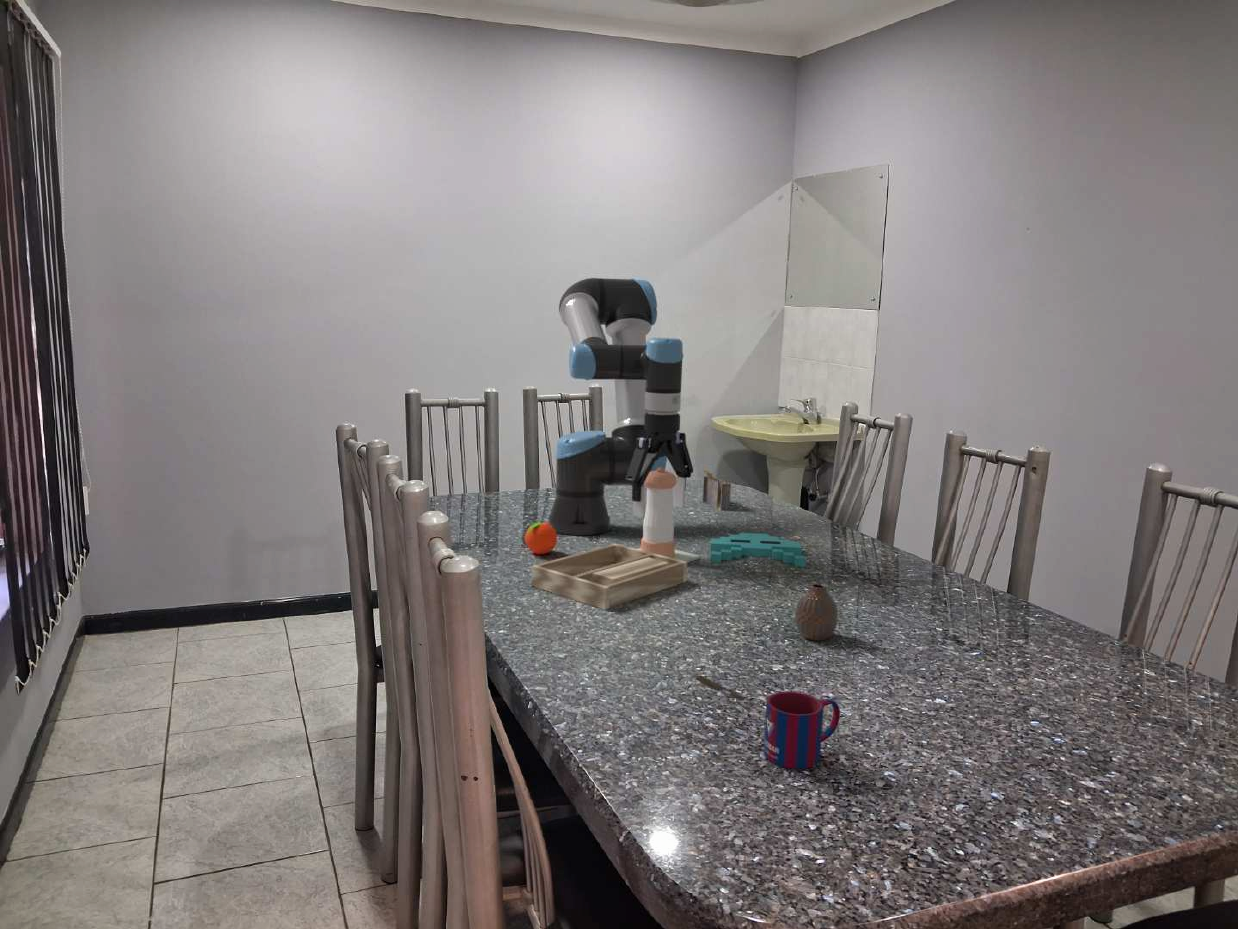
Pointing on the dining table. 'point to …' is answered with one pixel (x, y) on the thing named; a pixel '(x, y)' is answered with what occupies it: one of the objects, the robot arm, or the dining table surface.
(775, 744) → the mug
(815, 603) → the vase
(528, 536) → the clementine
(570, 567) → the rack
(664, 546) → the salt shaker
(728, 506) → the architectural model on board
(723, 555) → the alien figure
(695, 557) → the mat
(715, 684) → the thin brown sliver
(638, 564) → the upper offcut
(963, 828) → the dining table surface
